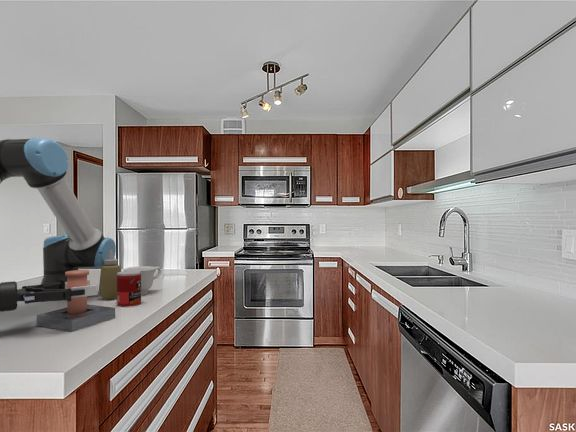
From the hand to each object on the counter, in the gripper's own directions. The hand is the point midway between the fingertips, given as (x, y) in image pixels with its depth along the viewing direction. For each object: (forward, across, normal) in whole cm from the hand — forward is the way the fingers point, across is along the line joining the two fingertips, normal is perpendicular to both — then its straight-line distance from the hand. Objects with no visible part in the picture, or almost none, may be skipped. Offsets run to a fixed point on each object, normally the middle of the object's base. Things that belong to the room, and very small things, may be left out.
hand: (93, 286), depth 108 cm
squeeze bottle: (+11, -27, -10) cm, 30 cm away
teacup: (+23, -29, -10) cm, 38 cm away
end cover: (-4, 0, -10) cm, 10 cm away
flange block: (-4, 0, -10) cm, 10 cm away
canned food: (+14, -13, -10) cm, 21 cm away
